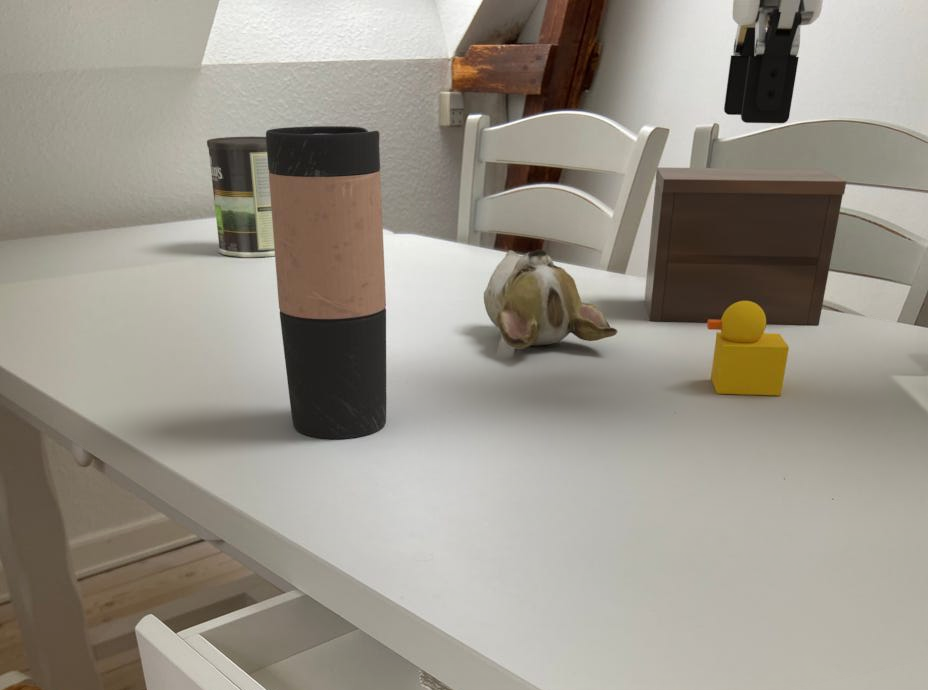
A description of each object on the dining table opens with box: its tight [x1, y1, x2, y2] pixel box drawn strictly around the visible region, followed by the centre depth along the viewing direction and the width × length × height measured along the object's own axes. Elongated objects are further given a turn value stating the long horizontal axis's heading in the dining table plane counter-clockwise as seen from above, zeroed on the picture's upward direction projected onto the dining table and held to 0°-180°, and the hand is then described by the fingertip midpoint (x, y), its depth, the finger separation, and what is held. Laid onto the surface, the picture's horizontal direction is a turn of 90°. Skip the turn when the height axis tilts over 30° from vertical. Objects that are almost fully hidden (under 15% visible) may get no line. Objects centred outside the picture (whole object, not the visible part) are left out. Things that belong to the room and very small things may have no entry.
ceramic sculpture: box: [483, 249, 618, 350], centre depth 95 cm, size 11×9×15 cm
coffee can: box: [206, 136, 275, 259], centre depth 137 cm, size 10×10×14 cm
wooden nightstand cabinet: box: [644, 167, 847, 326], centre depth 104 cm, size 11×17×14 cm, turn 83°
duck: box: [706, 301, 790, 397], centre depth 83 cm, size 6×4×7 cm
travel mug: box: [265, 125, 387, 440], centre depth 71 cm, size 8×8×20 cm
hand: (753, 118), depth 74 cm, fingers open, 9 cm apart
